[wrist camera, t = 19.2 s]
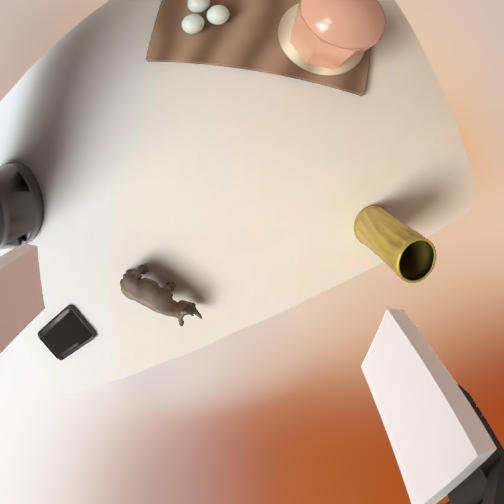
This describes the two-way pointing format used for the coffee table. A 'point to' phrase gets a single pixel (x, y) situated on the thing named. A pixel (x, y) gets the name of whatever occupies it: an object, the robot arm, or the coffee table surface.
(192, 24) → the marble
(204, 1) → the marble
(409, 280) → the vase
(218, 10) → the marble
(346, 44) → the domed lid canister
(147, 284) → the rhino figurine
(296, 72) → the board
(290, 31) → the coaster
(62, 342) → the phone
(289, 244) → the coffee table surface
